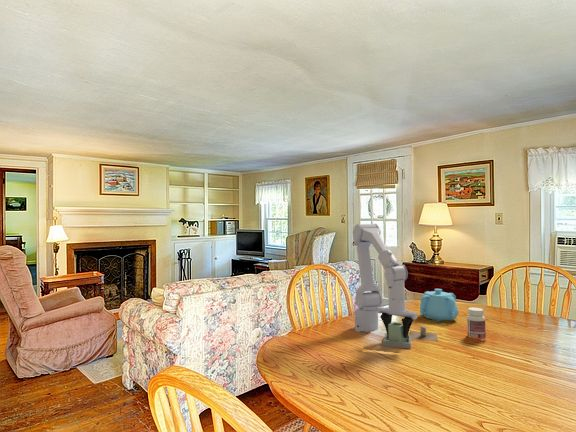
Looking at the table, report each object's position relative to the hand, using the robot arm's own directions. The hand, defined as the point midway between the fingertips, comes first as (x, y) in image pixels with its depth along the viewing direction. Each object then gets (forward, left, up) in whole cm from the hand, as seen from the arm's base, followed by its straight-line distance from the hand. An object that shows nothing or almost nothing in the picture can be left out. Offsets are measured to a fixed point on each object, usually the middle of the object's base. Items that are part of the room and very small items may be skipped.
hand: (397, 335), depth 133 cm
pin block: (+9, +10, -3) cm, 14 cm away
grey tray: (0, 0, -3) cm, 3 cm away
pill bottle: (+28, +16, -4) cm, 32 cm away
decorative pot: (+16, +42, -4) cm, 45 cm away
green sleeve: (0, 0, -3) cm, 3 cm away
